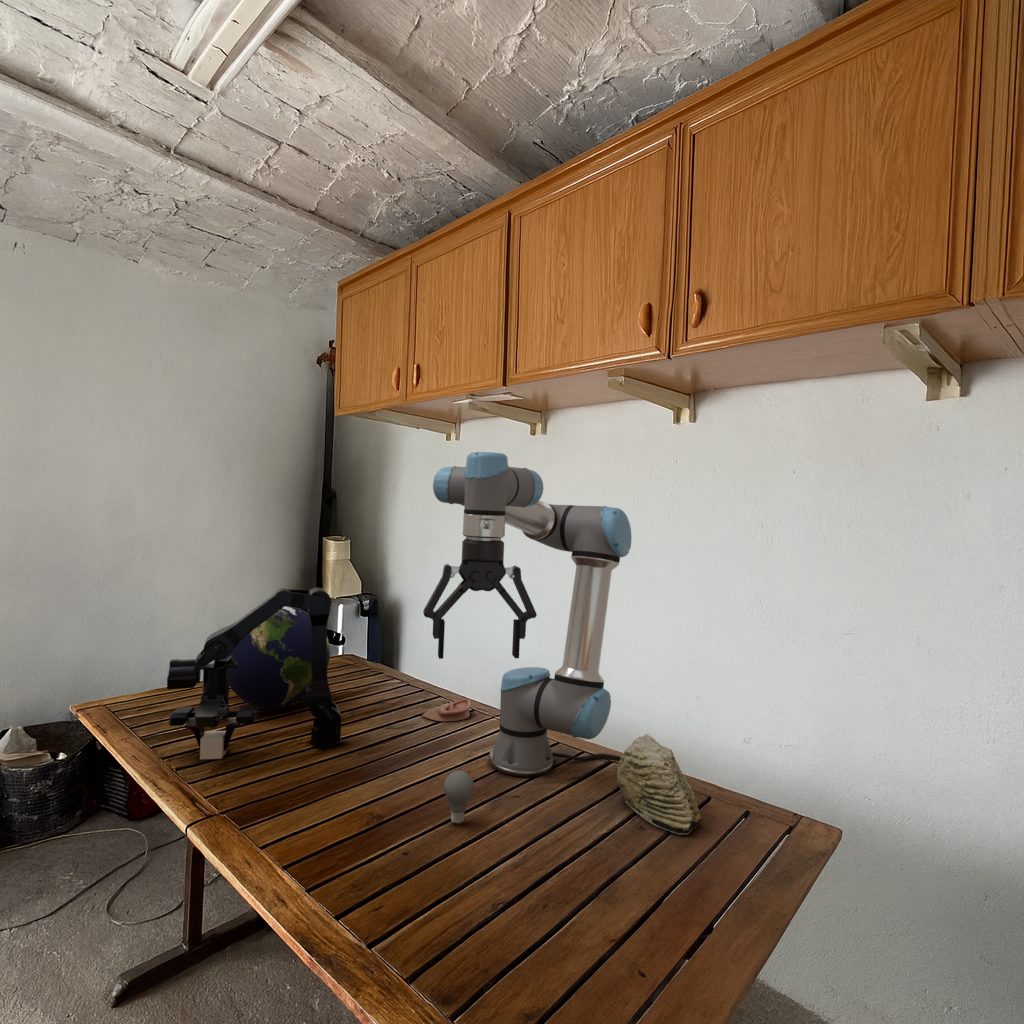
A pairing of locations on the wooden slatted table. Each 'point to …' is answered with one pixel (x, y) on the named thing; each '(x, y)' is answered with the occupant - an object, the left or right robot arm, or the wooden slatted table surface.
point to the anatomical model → (450, 711)
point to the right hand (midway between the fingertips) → (478, 656)
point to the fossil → (657, 786)
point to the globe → (274, 661)
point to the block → (212, 745)
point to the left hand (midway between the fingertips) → (213, 750)
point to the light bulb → (458, 793)
